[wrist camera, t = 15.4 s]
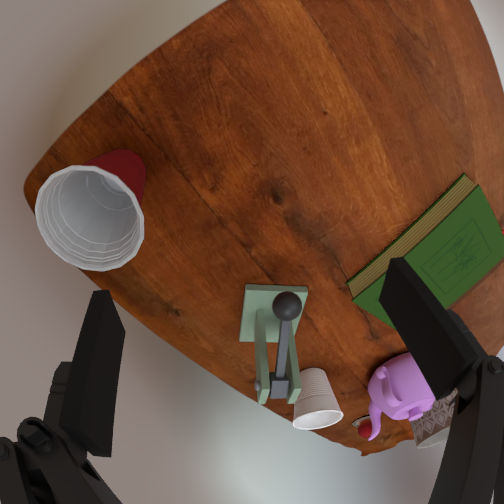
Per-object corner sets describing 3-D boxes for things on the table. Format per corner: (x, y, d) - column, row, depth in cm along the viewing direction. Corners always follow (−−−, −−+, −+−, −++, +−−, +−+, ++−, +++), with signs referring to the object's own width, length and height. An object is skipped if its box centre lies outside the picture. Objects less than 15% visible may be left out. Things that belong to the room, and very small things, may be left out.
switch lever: (271, 287, 38) (275, 294, 35) (299, 288, 39) (306, 295, 35) (262, 387, 40) (265, 401, 36) (287, 387, 40) (292, 400, 37)
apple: (363, 414, 79) (368, 433, 74) (381, 414, 81) (386, 432, 76) (347, 424, 83) (350, 442, 78) (365, 424, 85) (369, 441, 80)
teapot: (328, 386, 65) (338, 440, 54) (403, 333, 55) (426, 392, 44) (382, 398, 73) (393, 442, 62) (446, 355, 63) (465, 401, 52)
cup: (277, 373, 60) (282, 421, 51) (321, 355, 57) (331, 405, 48) (300, 389, 65) (306, 433, 56) (340, 374, 62) (350, 418, 53)
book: (404, 324, 53) (410, 339, 50) (345, 283, 45) (351, 301, 42) (502, 238, 41) (513, 251, 38) (467, 169, 34) (482, 181, 31)
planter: (442, 363, 65) (463, 416, 52) (470, 370, 71) (488, 415, 58) (390, 400, 75) (404, 450, 62) (424, 403, 81) (437, 446, 68)
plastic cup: (174, 208, 37) (153, 273, 27) (95, 213, 37) (57, 274, 27) (164, 121, 30) (129, 159, 21) (77, 134, 30) (20, 176, 21)
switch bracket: (245, 283, 45) (248, 373, 33) (306, 286, 45) (326, 372, 34) (239, 335, 52) (240, 414, 40) (291, 336, 53) (302, 413, 41)
